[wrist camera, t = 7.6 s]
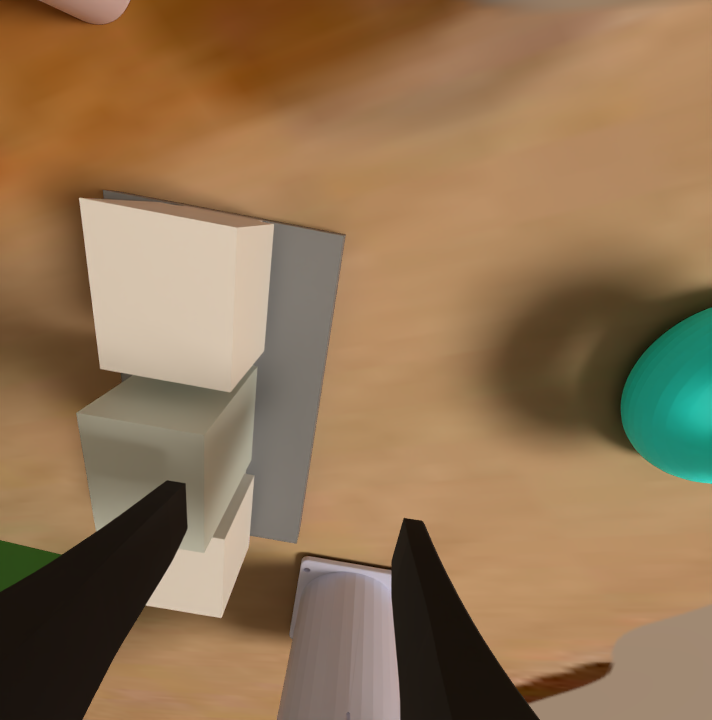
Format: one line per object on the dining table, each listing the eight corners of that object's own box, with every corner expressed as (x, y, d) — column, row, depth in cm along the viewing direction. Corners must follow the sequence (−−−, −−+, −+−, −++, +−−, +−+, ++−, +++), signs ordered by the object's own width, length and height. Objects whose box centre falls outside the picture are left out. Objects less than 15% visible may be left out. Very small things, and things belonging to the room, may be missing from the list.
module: (251, 459, 20) (204, 553, 15) (171, 446, 20) (92, 534, 14) (257, 366, 18) (204, 434, 12) (166, 350, 18) (71, 412, 12)
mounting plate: (299, 531, 25) (276, 627, 19) (144, 504, 24) (73, 593, 19) (345, 234, 17) (330, 245, 11) (118, 191, 17) (-18, 179, 11)
